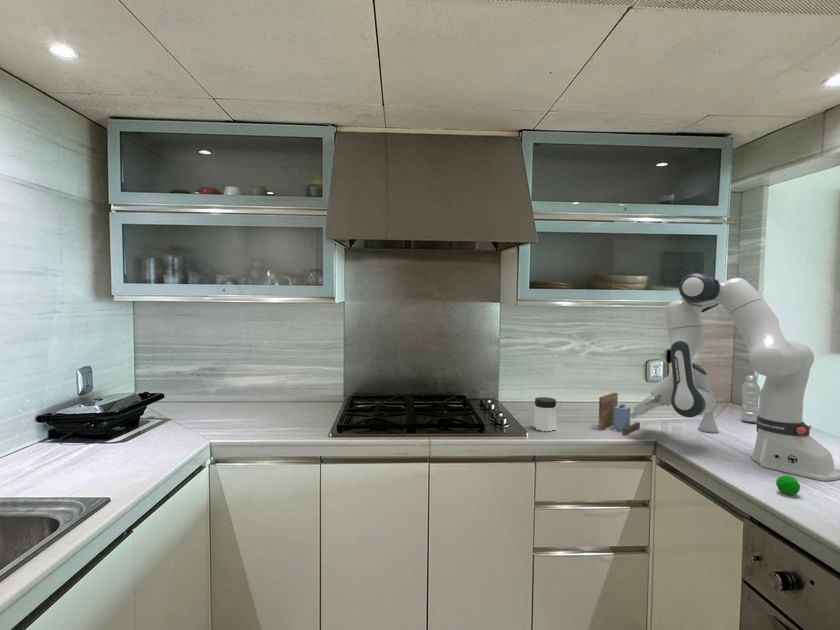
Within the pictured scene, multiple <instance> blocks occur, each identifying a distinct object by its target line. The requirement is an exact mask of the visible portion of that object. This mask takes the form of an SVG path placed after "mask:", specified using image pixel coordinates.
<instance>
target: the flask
mask: <svg viewBox="0 0 840 630" xmlns="http://www.w3.org/2000/svg"><path fill="white" fill-rule="evenodd" d="M697 430H698V431H701V432H703V433H711V434H718V433H719V429H718V426H717V423H716V420H715V416H714V411H712V412H711V413H708V414H703V415H702V419H701V421H700V423H699V425H698V427H697Z"/></svg>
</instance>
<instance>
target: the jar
mask: <svg viewBox="0 0 840 630" xmlns="http://www.w3.org/2000/svg"><path fill="white" fill-rule="evenodd" d="M557 410H558V407H557V400H556V399H555V398H553V397H548V396H547V397H545V396H544V397H543V396H540V397H535V398H534V405H533V428H534V427H535V428H536V429H537V430H544V431H551V432H553V431H552V430H556V431H557V415H558V414H557V412H558V411H557ZM535 428H534V429H535ZM536 429H535V430H536ZM537 430H536V431H537ZM544 431H543V432H544Z"/></svg>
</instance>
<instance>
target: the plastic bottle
mask: <svg viewBox="0 0 840 630" xmlns="http://www.w3.org/2000/svg"><path fill="white" fill-rule="evenodd" d="M757 381H758V376H756V375H752V374H751V375H750V374H749V375H748V374H747V375H746V376H745V381H744V382H743V384H742V385H741V393H742V394H741V395H742V407H741V411H740V418H741V420H742V421H743V422H747V423H756V422H757V416H758V415H759V395H760V391H761V386H760V385H759V384H758V383H757Z"/></svg>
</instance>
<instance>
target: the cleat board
mask: <svg viewBox="0 0 840 630" xmlns="http://www.w3.org/2000/svg"><path fill="white" fill-rule="evenodd" d="M618 395H619V393H618V392H612V393H608V394H606V395H602V396H600V397H598V398H599V400H598V401H599V404H598V430H599V429H602V430H601V431H604V430H606V429H608V428H607V427H609V428H610V426H611V427H613V426H612V425H613V422H614V407H616V406H618V400H619V398H618ZM605 428H606V429H605ZM640 428H641V423H640V422H638V421H636V422H634V423H631V424H630V425H629V426H627V427H625V428H623V432H622V436H628V435H630V434H632V433H634V432H636V431H638V430H639V429H640ZM603 429H604V430H603ZM635 430H636V431H635ZM633 431H634V432H633ZM631 432H632V433H631ZM629 433H630V434H629ZM627 434H628V435H627Z"/></svg>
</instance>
